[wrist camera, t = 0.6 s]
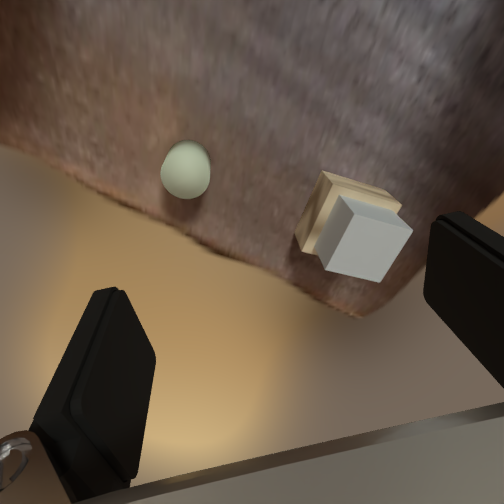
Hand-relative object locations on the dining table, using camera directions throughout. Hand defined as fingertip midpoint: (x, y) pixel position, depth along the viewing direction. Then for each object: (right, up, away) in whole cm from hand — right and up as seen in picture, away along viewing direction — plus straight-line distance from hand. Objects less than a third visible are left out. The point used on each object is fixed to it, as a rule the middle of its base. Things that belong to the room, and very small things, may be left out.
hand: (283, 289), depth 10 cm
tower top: (+11, +4, +29) cm, 32 cm away
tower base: (+10, +7, +34) cm, 36 cm away
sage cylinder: (-8, +12, +28) cm, 32 cm away
